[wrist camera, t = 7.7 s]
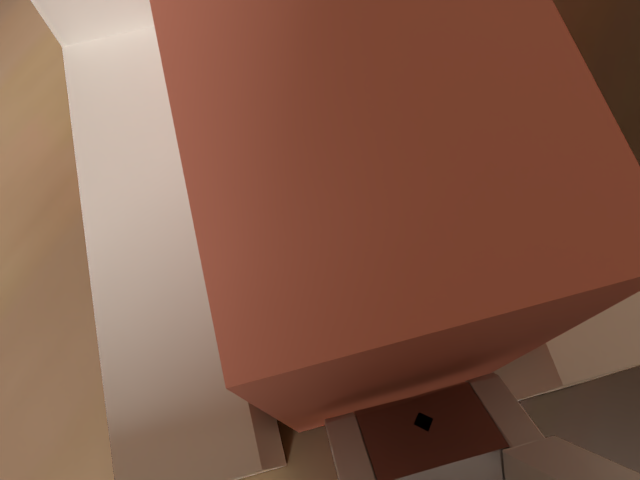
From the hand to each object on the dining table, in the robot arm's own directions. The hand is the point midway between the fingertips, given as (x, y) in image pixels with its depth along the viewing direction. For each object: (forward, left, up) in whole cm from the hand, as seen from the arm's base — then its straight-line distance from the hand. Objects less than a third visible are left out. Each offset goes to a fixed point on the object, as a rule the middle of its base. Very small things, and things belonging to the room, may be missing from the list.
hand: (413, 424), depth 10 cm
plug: (-4, +4, -5) cm, 7 cm away
